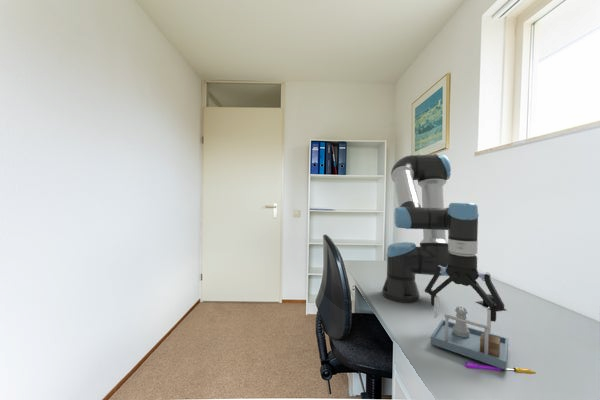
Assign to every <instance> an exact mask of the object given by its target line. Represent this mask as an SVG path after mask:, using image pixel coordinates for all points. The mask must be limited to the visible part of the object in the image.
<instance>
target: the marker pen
mask: <svg viewBox="0 0 600 400" xmlns="http://www.w3.org/2000/svg"><path fill="white" fill-rule="evenodd" d="M464 363H465V365H464V366H465V367H466V368H467V369H472V370H473V369H474V370H475V369H476V370H490V371H498V372H501V371H513V372H516V373H520V374H521V373H524V374H536V371H535V370H531V369H528V368H520V367H513V369H512V368H506V370H504V369H501V368H498V367H496V366H493V365H490V364H477V363H475V362H469V361H465V362H464Z"/></svg>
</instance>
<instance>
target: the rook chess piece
mask: <svg viewBox="0 0 600 400" xmlns="http://www.w3.org/2000/svg"><path fill="white" fill-rule="evenodd" d="M454 310H455V311H454V312H456V314H455V317H457V318H461V319H464V320H467V318H468V317H467V314H468V312H469V311H467V308H465V307H464V306H463V307H462V306H456V308H455V309H454ZM454 323H455V326H453V329H454V330H453V333H454V334H455V335H456V336H459V337H462V338H468V337H469V336H470V334H469V329H468V327H469V326H467V325H468V324H467V323H464V322H460V321H456V320H455V322H454Z"/></svg>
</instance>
